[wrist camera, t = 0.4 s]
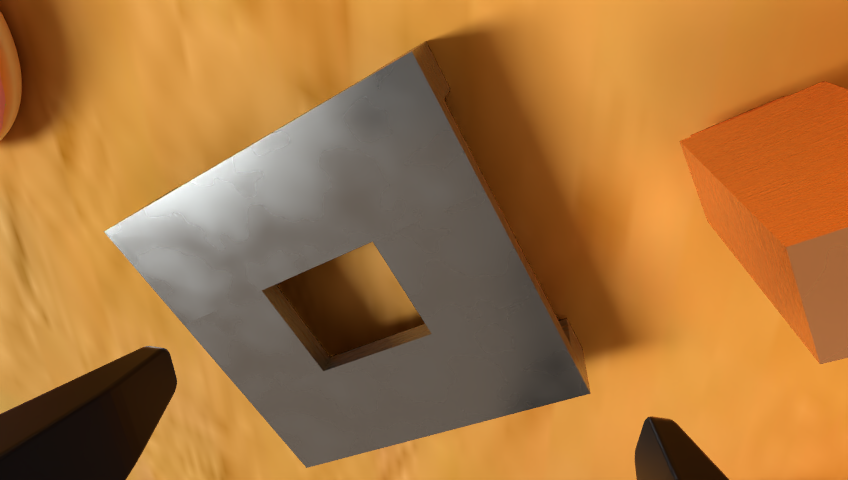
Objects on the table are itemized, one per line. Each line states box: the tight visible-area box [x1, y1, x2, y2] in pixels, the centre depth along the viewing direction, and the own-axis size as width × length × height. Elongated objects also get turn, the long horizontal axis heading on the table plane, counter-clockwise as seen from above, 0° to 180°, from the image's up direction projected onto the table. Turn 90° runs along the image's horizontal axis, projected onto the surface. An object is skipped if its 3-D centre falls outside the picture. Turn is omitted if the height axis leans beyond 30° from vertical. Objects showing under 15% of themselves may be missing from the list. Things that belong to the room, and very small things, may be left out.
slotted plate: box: [104, 42, 590, 468], centre depth 23 cm, size 16×16×3 cm
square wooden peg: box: [680, 81, 848, 364], centre depth 15 cm, size 4×4×10 cm
